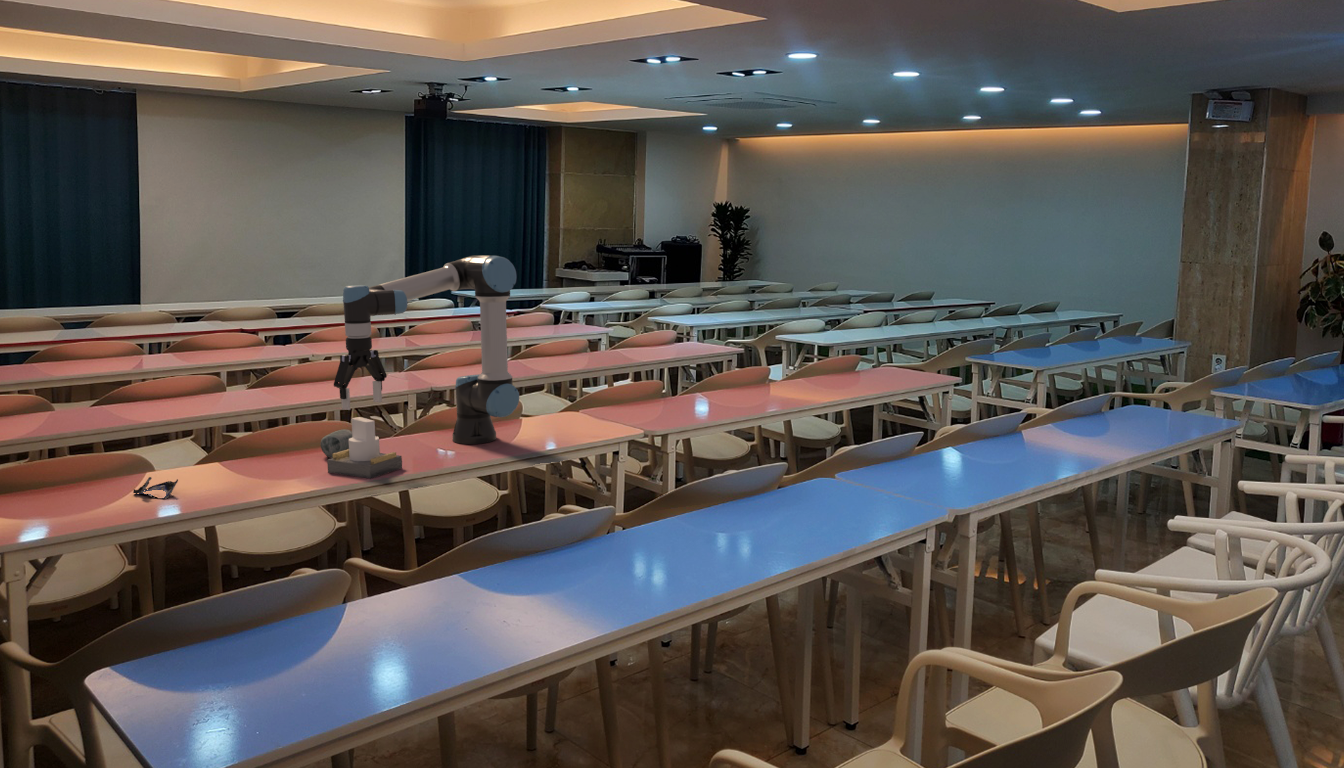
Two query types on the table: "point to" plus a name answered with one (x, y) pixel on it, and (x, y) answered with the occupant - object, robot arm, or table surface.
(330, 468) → the dark grey flat block
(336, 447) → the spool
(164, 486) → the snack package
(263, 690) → the table surface
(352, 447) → the base with upright slab
